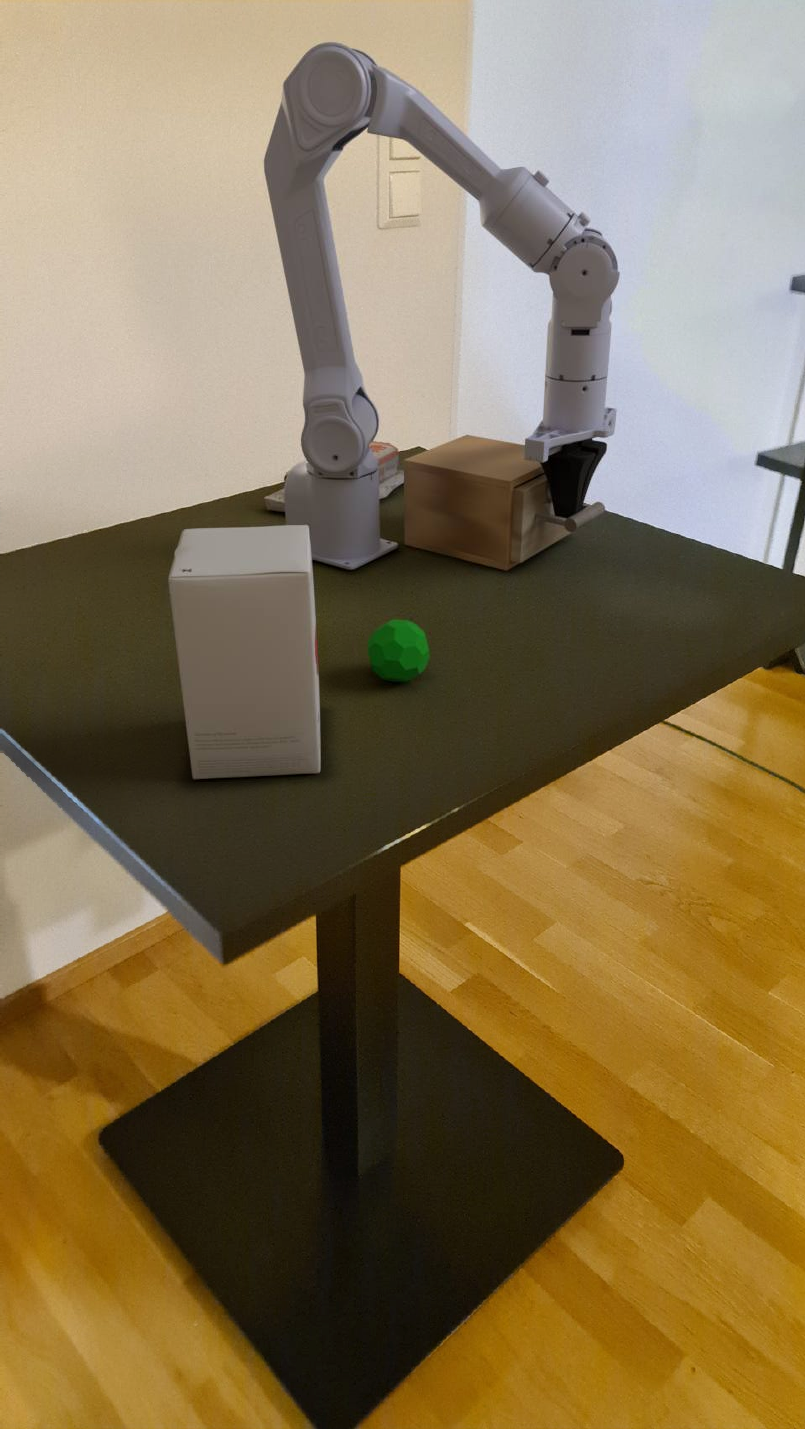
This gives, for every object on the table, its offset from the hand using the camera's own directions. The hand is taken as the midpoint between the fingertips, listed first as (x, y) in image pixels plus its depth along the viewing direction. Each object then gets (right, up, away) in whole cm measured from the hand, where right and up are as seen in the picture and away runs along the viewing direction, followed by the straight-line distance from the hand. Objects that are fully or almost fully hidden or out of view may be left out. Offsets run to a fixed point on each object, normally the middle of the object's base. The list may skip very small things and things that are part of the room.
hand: (566, 516), depth 101 cm
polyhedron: (-17, -17, -19) cm, 31 cm away
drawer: (-4, -2, +5) cm, 7 cm away
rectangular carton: (-27, -22, -28) cm, 44 cm away
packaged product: (-24, +6, +21) cm, 32 cm away
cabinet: (-8, -1, +7) cm, 11 cm away
